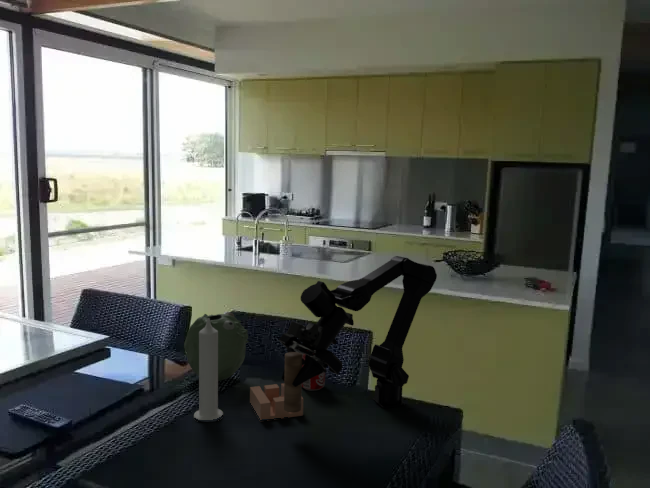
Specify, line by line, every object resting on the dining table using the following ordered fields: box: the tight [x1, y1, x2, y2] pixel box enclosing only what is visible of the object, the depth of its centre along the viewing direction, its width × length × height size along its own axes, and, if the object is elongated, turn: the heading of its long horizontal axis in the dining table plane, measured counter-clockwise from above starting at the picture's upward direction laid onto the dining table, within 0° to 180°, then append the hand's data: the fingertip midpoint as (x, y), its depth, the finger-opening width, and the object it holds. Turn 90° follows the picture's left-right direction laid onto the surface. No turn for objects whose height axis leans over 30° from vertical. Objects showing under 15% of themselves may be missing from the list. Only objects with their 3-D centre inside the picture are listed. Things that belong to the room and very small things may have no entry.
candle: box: [193, 318, 224, 420], centre depth 135 cm, size 7×7×25 cm
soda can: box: [302, 353, 326, 392], centre depth 156 cm, size 7×7×12 cm
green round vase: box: [183, 311, 250, 382], centre depth 159 cm, size 16×19×20 cm
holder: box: [249, 382, 304, 421], centre depth 141 cm, size 11×11×4 cm
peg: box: [283, 351, 303, 413], centre depth 127 cm, size 4×4×13 cm
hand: (288, 382), depth 126 cm, fingers closed on peg, 4 cm apart
